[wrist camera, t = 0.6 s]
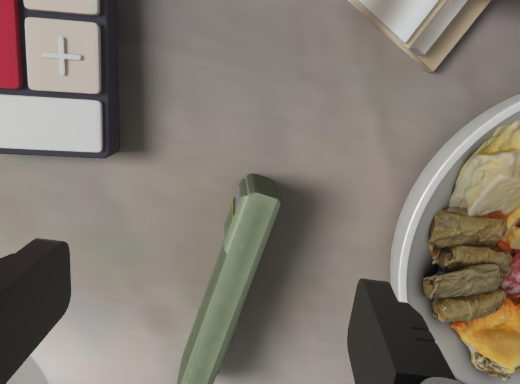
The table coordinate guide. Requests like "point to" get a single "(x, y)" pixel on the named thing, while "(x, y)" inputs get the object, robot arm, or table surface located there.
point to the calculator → (59, 78)
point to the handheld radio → (230, 279)
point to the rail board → (422, 25)
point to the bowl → (467, 248)
